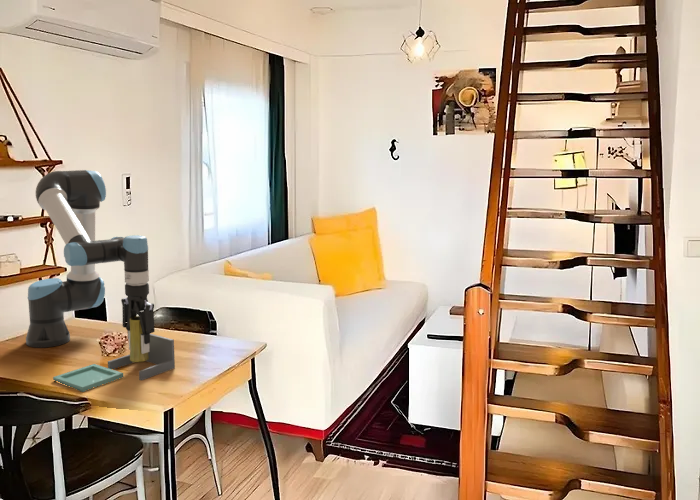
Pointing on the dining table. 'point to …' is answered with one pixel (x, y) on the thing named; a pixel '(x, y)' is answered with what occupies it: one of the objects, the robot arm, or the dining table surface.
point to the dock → (152, 357)
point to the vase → (136, 341)
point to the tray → (88, 377)
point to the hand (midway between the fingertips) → (139, 350)
